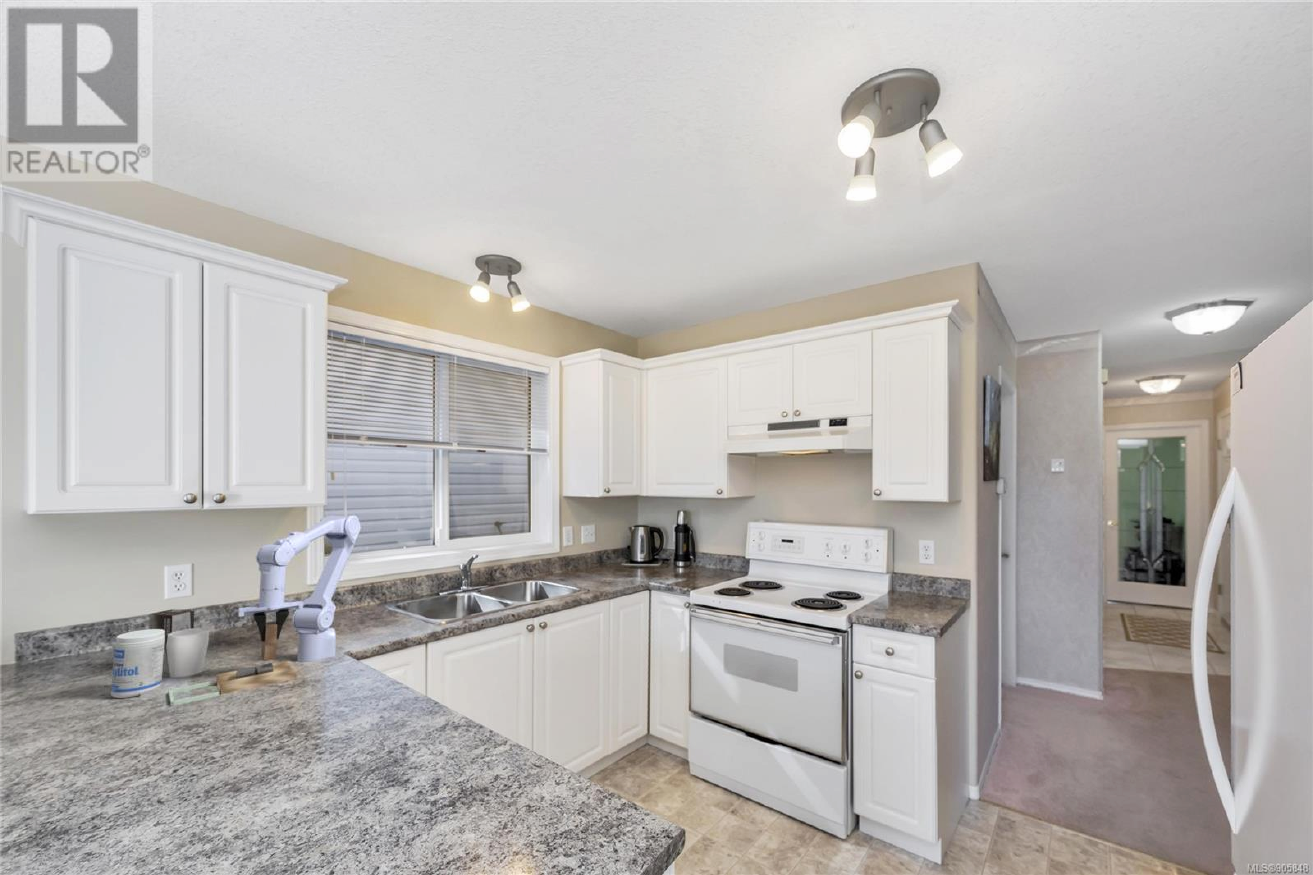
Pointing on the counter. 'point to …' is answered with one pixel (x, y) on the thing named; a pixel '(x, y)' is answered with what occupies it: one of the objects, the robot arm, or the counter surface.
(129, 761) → the counter surface
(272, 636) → the brown wooden block
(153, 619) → the coffee box
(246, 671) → the dark grey cube
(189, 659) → the cup
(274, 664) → the slot board
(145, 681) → the supplement tub
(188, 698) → the tray
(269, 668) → the grey cube
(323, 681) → the counter surface
